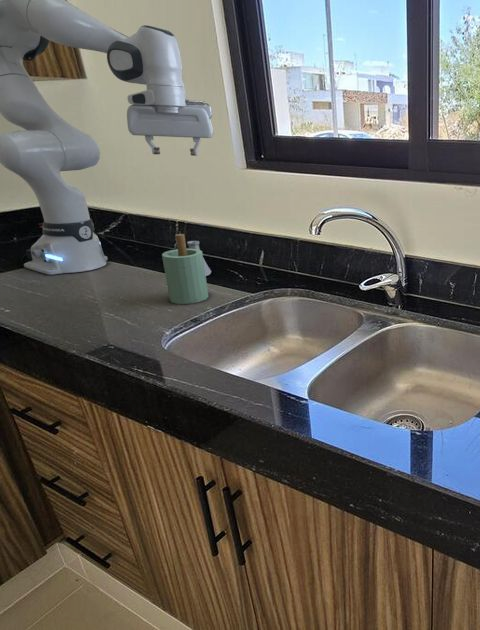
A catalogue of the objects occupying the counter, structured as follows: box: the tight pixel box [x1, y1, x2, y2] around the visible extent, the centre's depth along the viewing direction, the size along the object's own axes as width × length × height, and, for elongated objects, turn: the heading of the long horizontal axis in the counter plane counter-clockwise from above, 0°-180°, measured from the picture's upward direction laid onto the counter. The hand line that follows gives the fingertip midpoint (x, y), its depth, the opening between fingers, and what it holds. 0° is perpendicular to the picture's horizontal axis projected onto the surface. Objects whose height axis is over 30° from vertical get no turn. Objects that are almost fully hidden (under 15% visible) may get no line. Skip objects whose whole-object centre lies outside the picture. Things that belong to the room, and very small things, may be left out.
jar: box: [161, 248, 209, 305], centre depth 120 cm, size 9×9×12 cm
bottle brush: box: [174, 233, 187, 256], centre depth 119 cm, size 4×4×16 cm
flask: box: [186, 240, 212, 277], centre depth 139 cm, size 7×7×10 cm
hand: (175, 154), depth 128 cm, fingers open, 8 cm apart
